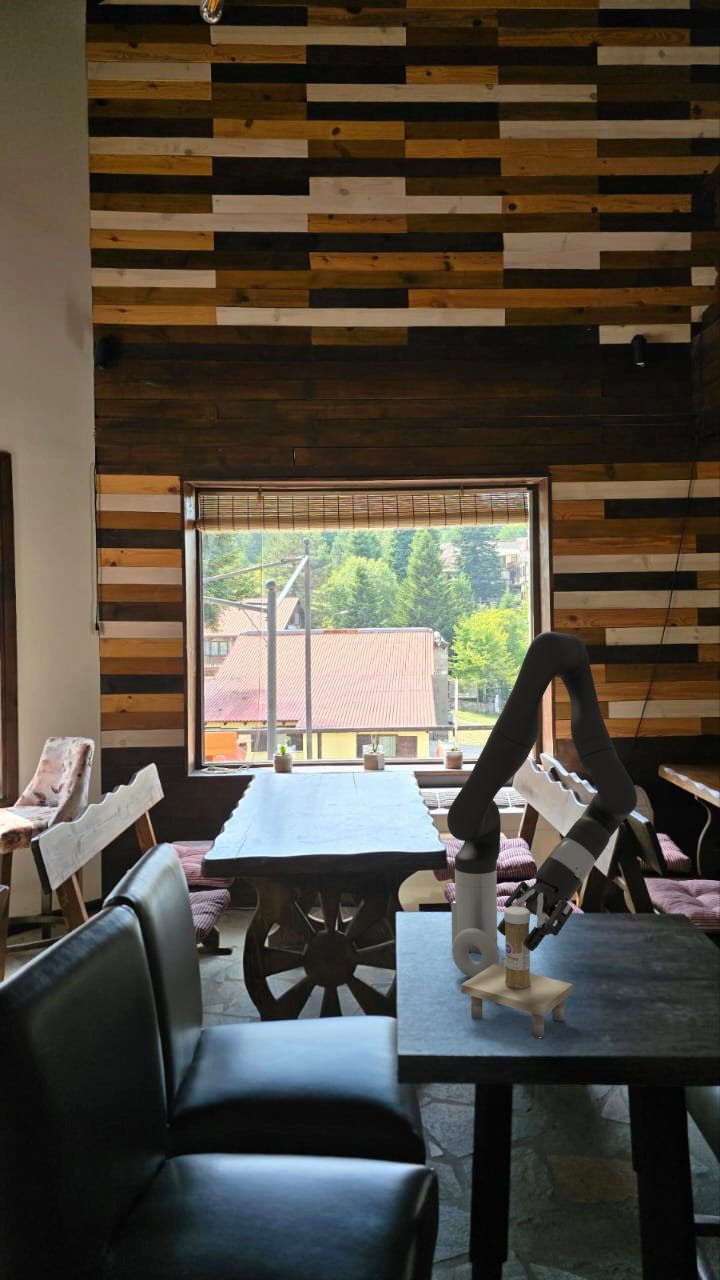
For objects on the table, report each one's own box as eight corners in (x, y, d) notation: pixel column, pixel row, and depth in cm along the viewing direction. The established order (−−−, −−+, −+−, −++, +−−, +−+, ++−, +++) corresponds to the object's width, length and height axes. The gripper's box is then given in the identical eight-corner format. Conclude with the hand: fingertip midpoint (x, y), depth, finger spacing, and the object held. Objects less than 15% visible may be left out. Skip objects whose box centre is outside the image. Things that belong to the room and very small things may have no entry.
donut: (502, 980, 166) (501, 930, 166) (495, 986, 163) (494, 935, 163) (456, 970, 171) (456, 922, 171) (449, 976, 168) (448, 927, 169)
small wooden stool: (461, 1018, 150) (461, 984, 150) (494, 995, 159) (493, 964, 159) (543, 1043, 140) (543, 1007, 140) (573, 1017, 149) (572, 984, 149)
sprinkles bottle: (500, 984, 149) (498, 909, 149) (515, 977, 152) (514, 904, 153) (520, 992, 146) (519, 915, 146) (536, 984, 149) (535, 909, 149)
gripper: (531, 847, 159) (480, 915, 155) (577, 865, 146) (523, 940, 142) (554, 872, 161) (504, 940, 157) (602, 891, 148) (550, 966, 144)
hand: (513, 940), depth 149 cm, fingers open, 8 cm apart
